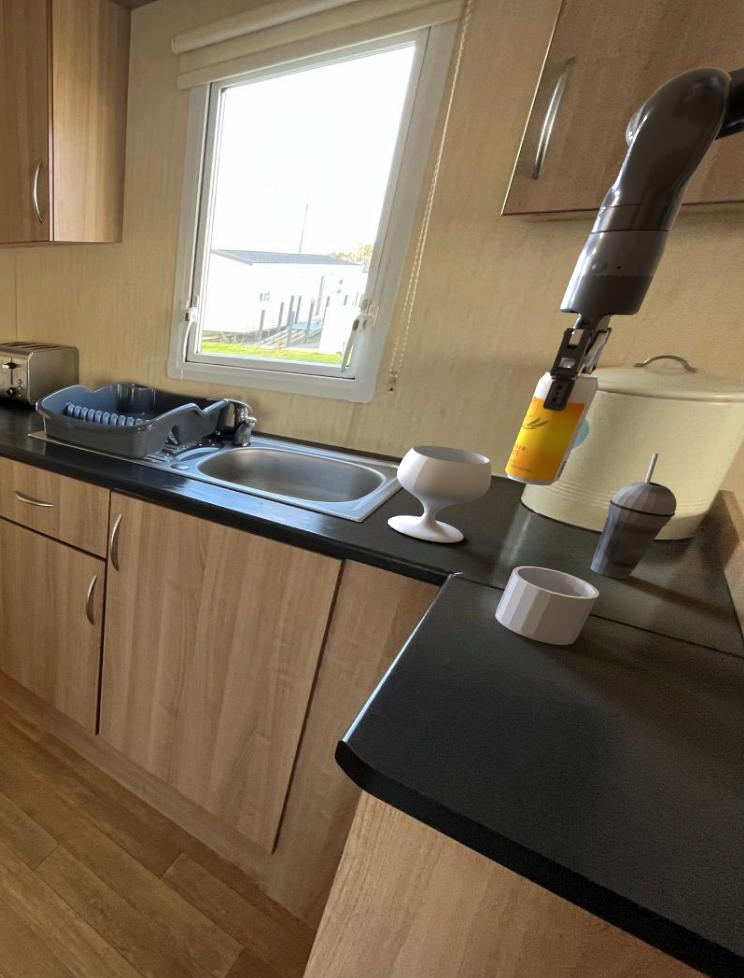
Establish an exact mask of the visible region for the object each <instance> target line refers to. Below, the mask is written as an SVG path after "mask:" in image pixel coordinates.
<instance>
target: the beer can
mask: <svg viewBox="0 0 744 978" xmlns="http://www.w3.org/2000/svg"><path fill="white" fill-rule="evenodd" d="M579 376H580V377H579V379H578V380H577V381H576V382H573V383H575V385H574V387H573V390H572V392H571V395H570V397H569V400H568V402H567V405H566V407H565V409H563V410H561V411H555V410H548V409H544V408H543V404H544V401H545V399H546V396H547V394H548V391H549V388H550V386H551V383H552V381H553V380H551V378H552V377H551V376H550V371H546V372H545V374H544V375H542V377H541V378H540V379H539V381H538V383H537V385H536V388H535V391H534V394H533V396H532V399H531V401H530V404H529V407H528V409H527V412H526V414H525V416H524V419H523V423H522V425H521V428H520V429H519V430H520V431H519V433H518V434H517V435H518V436H517V438H516V440H515V443H514V446H513V448H512V451H511V454H510V457H509V459H508V462H507V464H506V467H505V472H506V474H507V477H508V479H511V480H513V481H515V482H519V483H521V484H522V483H523V484H526V485H527V484H528V485H532V486H533V485H534V486H552V485H553V484H554V483H556V482H558V481H560V479H561V476H562V474H563V472H564V469H565V467H566V464H567V462H568V459H569V457H570V455H571V453H572V450H573V448H574V445H575V443H576V442H577V441H576V440H577V439H578V436H579V434H580V431H581V429H582V427H583V424H584V422H585V419H586V417H587V415H588V413H589V410H590V408H591V405H592V403H593V401H594V398H595V395H596V393H597V391H598V390H599V387H600V386H599V380H598V379H599V376H597V375H594V374H591V375H589V374H581V373H580V375H579Z"/></svg>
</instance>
